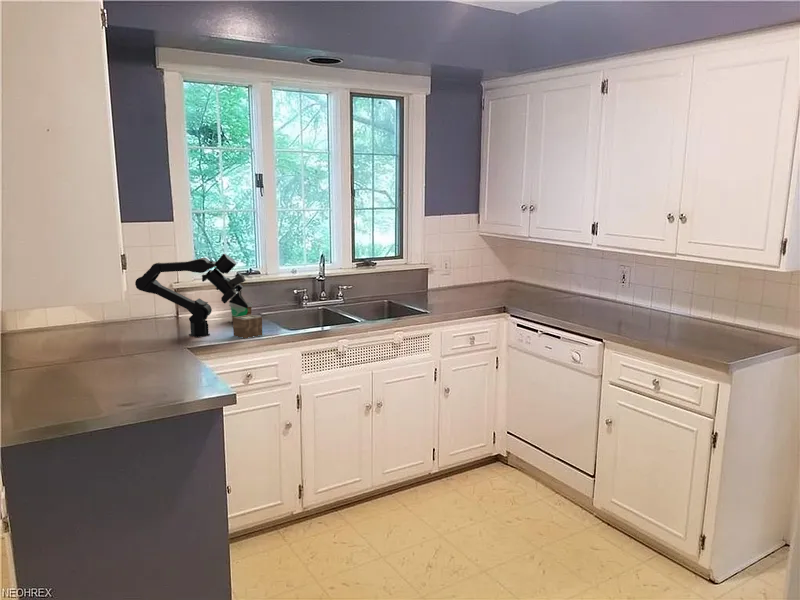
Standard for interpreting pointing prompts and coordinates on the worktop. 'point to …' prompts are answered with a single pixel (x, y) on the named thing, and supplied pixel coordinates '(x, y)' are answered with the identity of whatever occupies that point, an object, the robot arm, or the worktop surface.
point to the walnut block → (247, 326)
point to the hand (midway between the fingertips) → (247, 307)
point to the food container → (240, 310)
